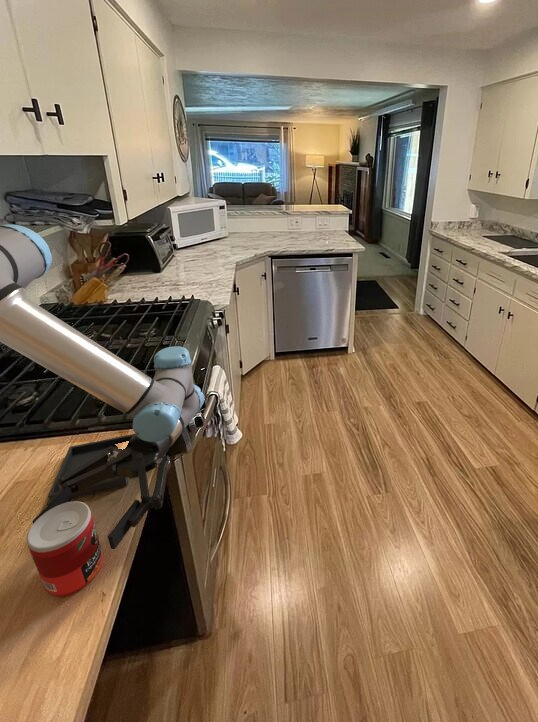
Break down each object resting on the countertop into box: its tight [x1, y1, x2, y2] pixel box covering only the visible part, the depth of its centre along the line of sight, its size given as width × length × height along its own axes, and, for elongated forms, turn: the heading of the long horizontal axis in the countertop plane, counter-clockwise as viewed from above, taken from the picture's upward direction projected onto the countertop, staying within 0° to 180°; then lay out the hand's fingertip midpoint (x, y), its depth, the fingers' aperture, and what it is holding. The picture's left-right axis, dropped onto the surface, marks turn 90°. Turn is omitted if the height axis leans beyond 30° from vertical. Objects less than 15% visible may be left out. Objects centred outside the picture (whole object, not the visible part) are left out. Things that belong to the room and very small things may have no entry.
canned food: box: [26, 500, 104, 598], centre depth 56 cm, size 8×8×11 cm
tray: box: [47, 433, 135, 502], centre depth 76 cm, size 13×13×2 cm
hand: (72, 535), depth 56 cm, fingers open, 13 cm apart
